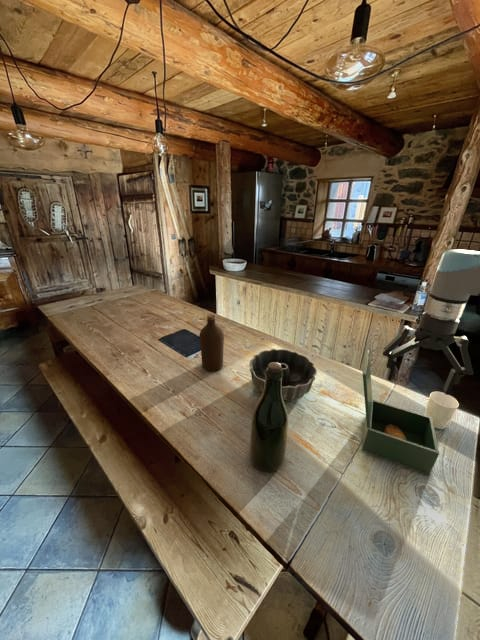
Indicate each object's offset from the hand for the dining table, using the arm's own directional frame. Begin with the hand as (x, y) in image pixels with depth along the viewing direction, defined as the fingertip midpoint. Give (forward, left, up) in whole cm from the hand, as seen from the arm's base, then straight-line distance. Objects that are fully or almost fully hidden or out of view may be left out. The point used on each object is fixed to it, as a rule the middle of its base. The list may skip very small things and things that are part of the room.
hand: (416, 384), depth 74 cm
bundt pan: (+41, -10, -24) cm, 49 cm away
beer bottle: (+34, +23, -24) cm, 48 cm away
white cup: (-13, -17, -24) cm, 32 cm away
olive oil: (+73, -9, -24) cm, 77 cm away
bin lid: (+11, 0, -5) cm, 12 cm away
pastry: (+1, 0, -23) cm, 23 cm away
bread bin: (0, 0, -24) cm, 24 cm away
